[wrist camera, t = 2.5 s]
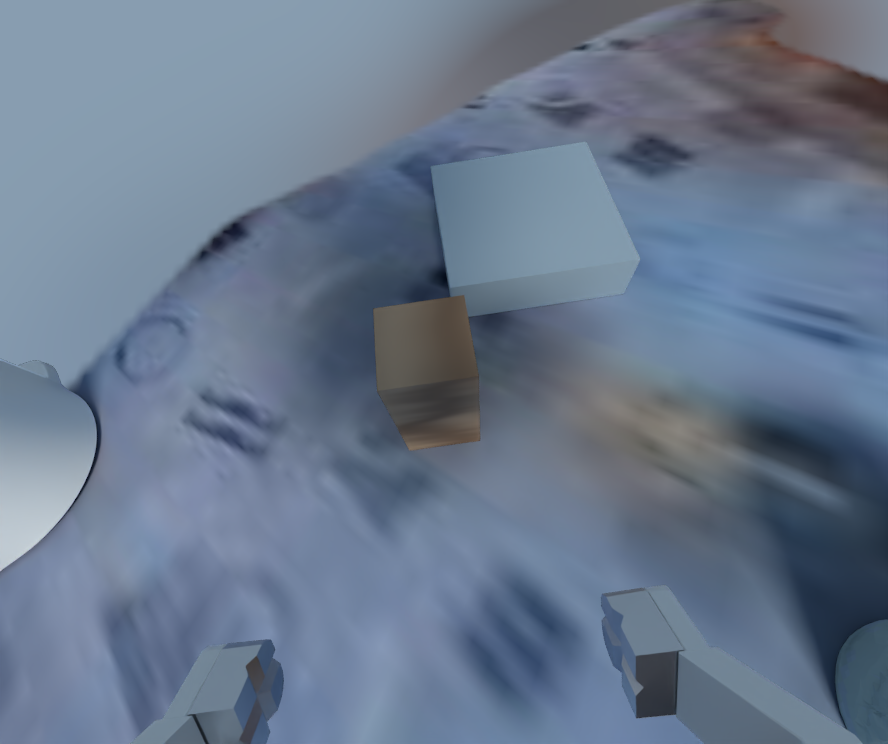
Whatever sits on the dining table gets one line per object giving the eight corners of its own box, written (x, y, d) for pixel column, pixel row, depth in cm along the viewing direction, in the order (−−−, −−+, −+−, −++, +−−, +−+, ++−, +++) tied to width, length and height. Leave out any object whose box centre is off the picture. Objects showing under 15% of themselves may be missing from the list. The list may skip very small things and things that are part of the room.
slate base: (453, 319, 33) (449, 288, 30) (435, 203, 40) (430, 166, 36) (623, 293, 33) (640, 259, 30) (576, 181, 40) (586, 141, 36)
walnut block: (409, 450, 29) (377, 391, 20) (404, 387, 31) (373, 308, 22) (480, 440, 29) (478, 376, 20) (469, 377, 31) (464, 294, 22)
